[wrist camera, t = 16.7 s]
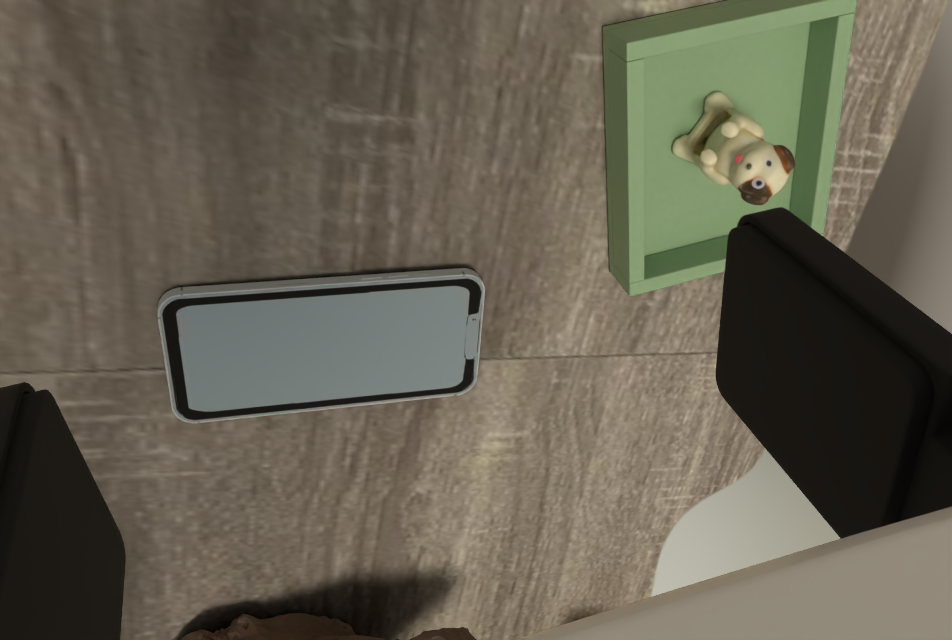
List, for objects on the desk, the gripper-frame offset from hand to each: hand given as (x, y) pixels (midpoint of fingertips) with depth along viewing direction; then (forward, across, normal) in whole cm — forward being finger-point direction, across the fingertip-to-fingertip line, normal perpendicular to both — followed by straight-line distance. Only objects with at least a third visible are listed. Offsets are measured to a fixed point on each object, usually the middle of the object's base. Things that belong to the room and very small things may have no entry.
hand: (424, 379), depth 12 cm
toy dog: (+25, -19, +10) cm, 33 cm away
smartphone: (+26, +1, +17) cm, 31 cm away
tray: (+25, -19, +10) cm, 33 cm away
